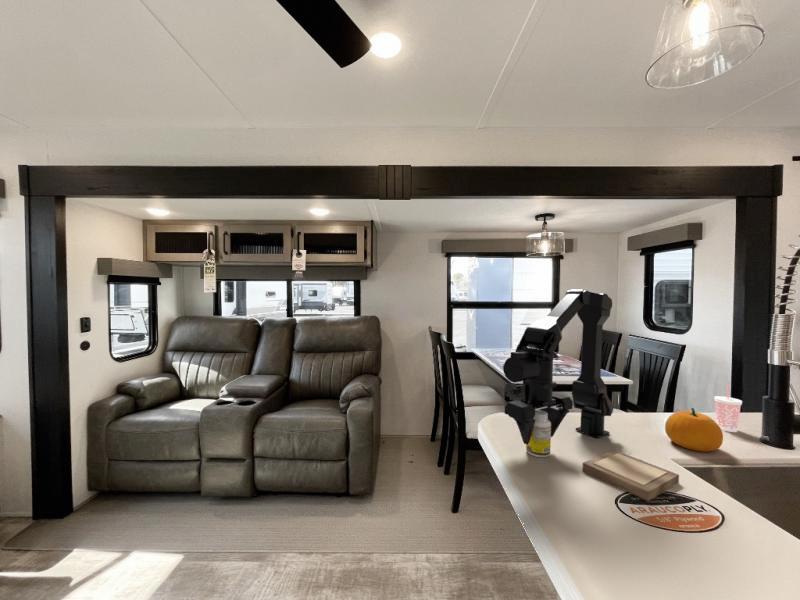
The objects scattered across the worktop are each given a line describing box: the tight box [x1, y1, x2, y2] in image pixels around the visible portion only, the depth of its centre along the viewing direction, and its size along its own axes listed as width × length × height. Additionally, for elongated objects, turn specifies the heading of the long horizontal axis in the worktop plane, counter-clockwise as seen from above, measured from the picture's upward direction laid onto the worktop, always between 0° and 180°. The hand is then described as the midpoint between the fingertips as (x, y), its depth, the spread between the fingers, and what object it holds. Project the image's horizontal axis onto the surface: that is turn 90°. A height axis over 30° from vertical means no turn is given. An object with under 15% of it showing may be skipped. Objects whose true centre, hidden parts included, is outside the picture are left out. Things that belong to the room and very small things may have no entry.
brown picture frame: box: [582, 449, 680, 502], centre depth 75 cm, size 13×13×2 cm
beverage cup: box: [713, 381, 743, 433], centre depth 104 cm, size 6×6×14 cm
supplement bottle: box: [525, 409, 552, 458], centre depth 86 cm, size 6×6×10 cm
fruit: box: [664, 407, 724, 452], centre depth 91 cm, size 12×12×10 cm
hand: (538, 440), depth 86 cm, fingers open, 9 cm apart
